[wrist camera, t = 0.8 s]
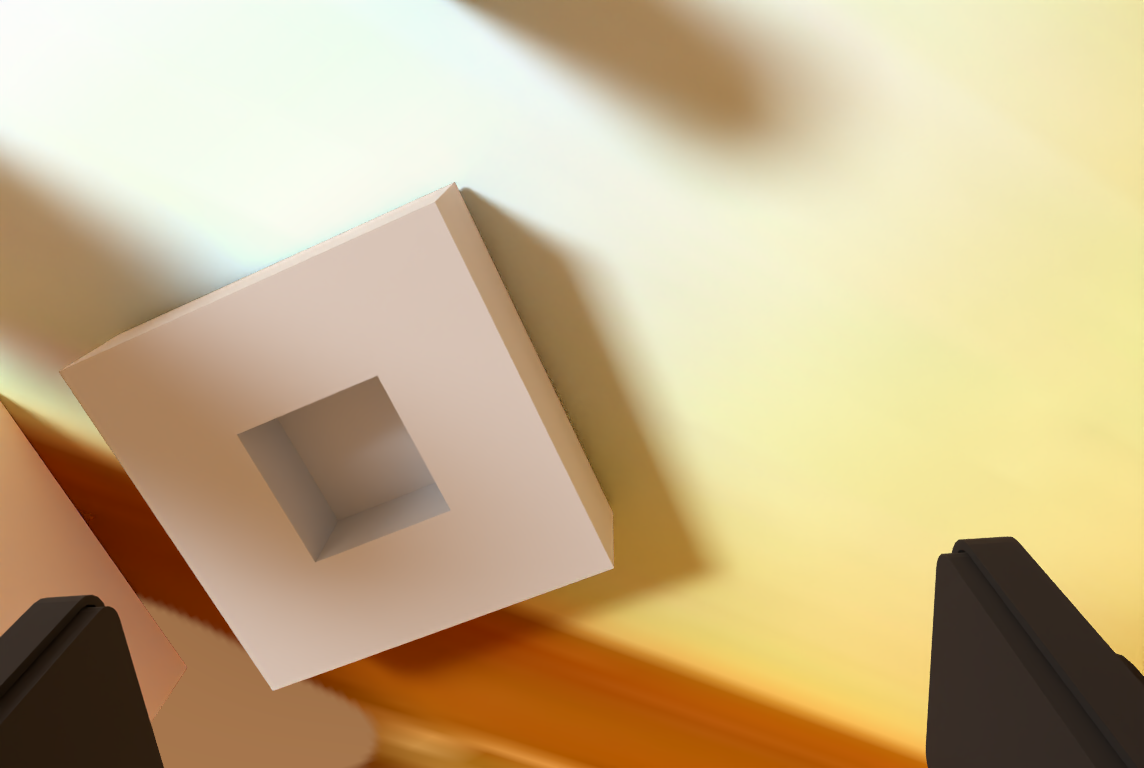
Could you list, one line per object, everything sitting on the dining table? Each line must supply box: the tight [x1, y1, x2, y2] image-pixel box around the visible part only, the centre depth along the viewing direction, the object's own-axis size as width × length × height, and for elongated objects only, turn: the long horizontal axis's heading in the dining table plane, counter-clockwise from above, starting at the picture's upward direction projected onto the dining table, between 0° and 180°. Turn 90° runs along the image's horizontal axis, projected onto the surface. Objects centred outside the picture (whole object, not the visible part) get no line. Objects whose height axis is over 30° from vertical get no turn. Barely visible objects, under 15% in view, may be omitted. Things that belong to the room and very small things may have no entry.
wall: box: [0, 401, 187, 723], centre depth 33 cm, size 2×14×10 cm, turn 24°
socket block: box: [59, 182, 614, 691], centre depth 33 cm, size 14×14×4 cm
